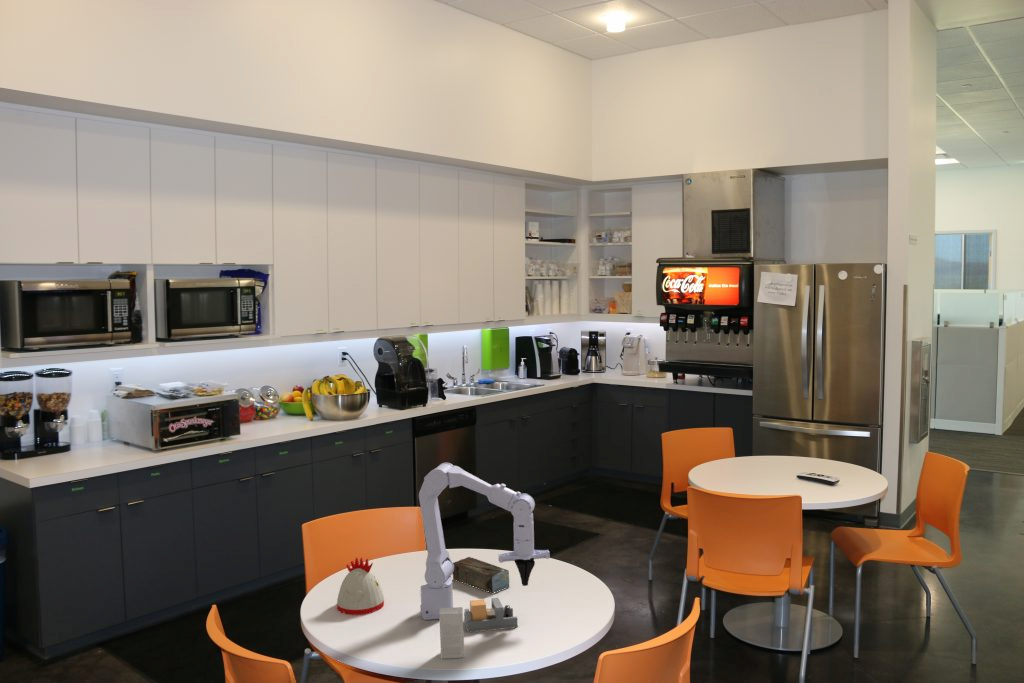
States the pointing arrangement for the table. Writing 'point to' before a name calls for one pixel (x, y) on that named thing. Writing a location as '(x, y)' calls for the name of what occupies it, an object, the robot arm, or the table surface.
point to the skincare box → (451, 632)
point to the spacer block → (478, 609)
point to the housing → (491, 623)
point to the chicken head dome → (360, 590)
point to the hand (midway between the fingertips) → (524, 584)
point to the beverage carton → (481, 574)
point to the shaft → (492, 614)
